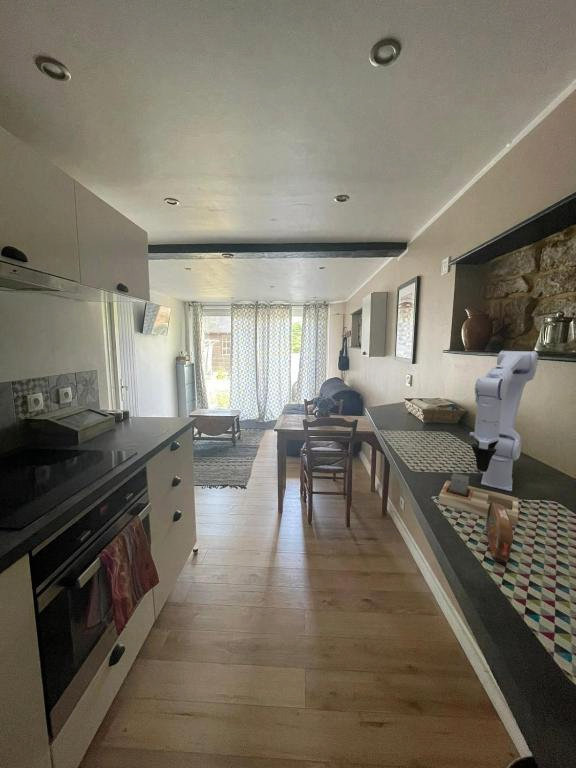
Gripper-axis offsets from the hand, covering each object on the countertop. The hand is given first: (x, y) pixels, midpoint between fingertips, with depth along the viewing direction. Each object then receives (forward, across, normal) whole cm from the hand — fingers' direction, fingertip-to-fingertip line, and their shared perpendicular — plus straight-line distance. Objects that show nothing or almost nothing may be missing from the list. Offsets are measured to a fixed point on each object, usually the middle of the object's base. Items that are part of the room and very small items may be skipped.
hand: (483, 466), depth 86 cm
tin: (+11, +20, +5) cm, 24 cm away
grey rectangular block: (+10, +3, -5) cm, 12 cm away
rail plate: (+10, +3, 0) cm, 11 cm away
